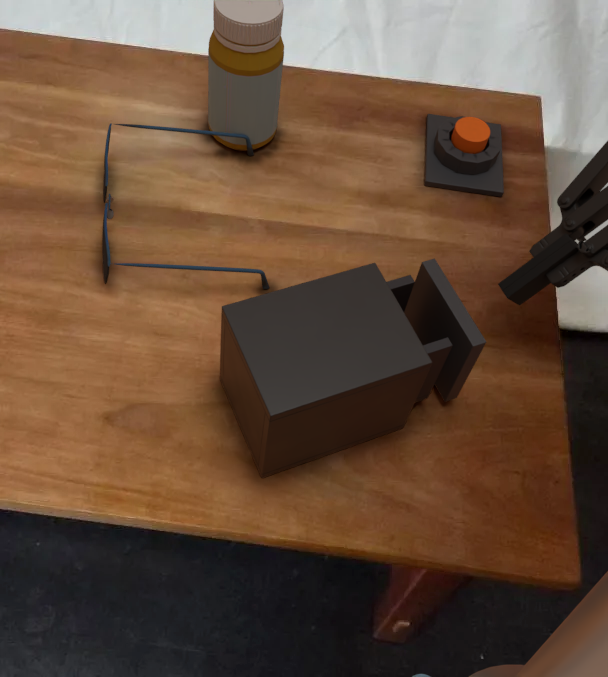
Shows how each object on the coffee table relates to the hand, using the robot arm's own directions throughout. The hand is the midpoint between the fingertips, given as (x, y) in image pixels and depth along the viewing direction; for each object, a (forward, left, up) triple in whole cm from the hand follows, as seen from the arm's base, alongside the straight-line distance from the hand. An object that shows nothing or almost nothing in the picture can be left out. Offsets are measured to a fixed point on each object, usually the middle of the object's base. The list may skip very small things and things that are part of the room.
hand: (509, 294), depth 67 cm
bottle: (+5, +33, -8) cm, 34 cm away
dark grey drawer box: (-15, +8, -8) cm, 18 cm away
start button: (+19, +14, -6) cm, 24 cm away
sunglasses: (-8, +29, -8) cm, 31 cm away
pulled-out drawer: (-9, +5, -7) cm, 12 cm away
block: (+19, +14, -8) cm, 25 cm away
